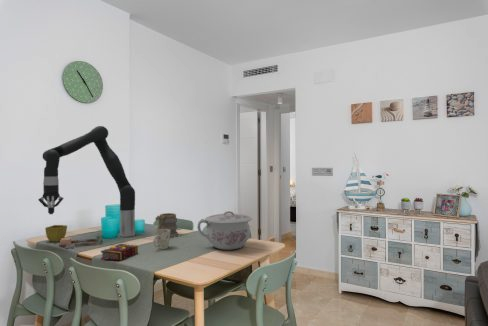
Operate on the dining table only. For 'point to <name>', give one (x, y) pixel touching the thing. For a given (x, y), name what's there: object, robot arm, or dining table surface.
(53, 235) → the flower pot
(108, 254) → the decorative book
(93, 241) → the lane
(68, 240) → the terracotta block
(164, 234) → the mug
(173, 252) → the dining table surface
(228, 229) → the chamber pot
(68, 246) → the trap pads
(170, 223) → the tankard
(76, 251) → the dining table surface
